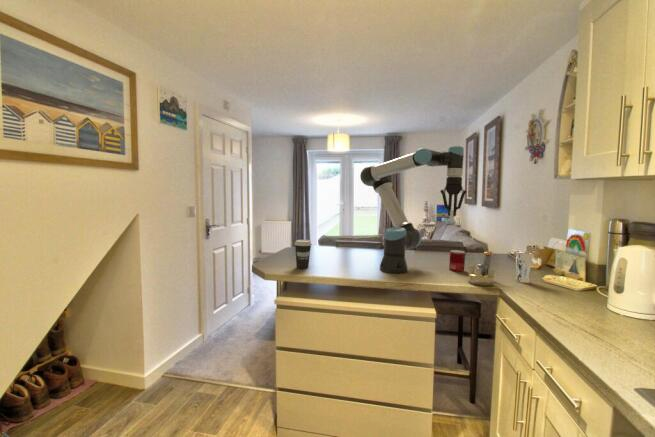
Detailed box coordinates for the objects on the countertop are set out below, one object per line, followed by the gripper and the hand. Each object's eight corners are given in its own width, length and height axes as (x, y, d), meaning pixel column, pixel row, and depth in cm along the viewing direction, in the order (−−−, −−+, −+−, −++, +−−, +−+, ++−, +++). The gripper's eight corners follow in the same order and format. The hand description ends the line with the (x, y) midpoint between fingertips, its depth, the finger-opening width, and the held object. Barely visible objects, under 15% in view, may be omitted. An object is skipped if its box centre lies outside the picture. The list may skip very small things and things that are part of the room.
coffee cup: (290, 268, 178) (291, 241, 176) (298, 264, 186) (299, 239, 185) (306, 270, 174) (307, 242, 173) (313, 266, 183) (314, 240, 182)
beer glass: (530, 284, 160) (532, 254, 159) (513, 281, 164) (516, 252, 162) (530, 281, 166) (532, 252, 165) (514, 279, 170) (516, 250, 168)
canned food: (465, 272, 181) (466, 252, 180) (450, 271, 182) (451, 251, 182) (462, 269, 188) (463, 250, 188) (448, 268, 190) (449, 249, 189)
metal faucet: (490, 287, 151) (492, 258, 150) (465, 282, 158) (467, 254, 157) (498, 280, 165) (500, 253, 164) (475, 276, 172) (477, 250, 171)
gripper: (439, 176, 168) (437, 221, 170) (467, 176, 162) (464, 223, 164) (442, 177, 175) (439, 221, 177) (468, 177, 168) (465, 222, 170)
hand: (451, 222), depth 170 cm, fingers closed
